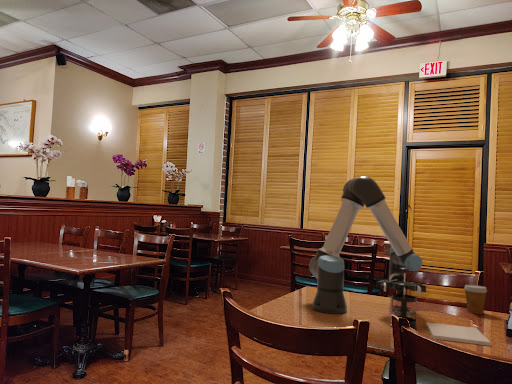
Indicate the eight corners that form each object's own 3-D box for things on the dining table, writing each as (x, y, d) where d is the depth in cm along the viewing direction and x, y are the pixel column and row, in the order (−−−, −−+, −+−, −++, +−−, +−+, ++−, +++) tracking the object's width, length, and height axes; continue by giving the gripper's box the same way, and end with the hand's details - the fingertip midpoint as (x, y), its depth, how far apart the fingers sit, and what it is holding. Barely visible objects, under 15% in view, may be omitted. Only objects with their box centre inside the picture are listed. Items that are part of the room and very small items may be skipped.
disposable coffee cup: (491, 314, 178) (492, 288, 178) (475, 315, 175) (475, 288, 176) (474, 309, 187) (475, 284, 188) (458, 309, 184) (459, 284, 185)
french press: (416, 333, 143) (417, 270, 144) (389, 329, 146) (391, 268, 148) (416, 325, 153) (417, 267, 155) (391, 321, 157) (393, 264, 158)
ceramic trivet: (433, 338, 137) (433, 335, 137) (426, 325, 154) (426, 322, 154) (490, 345, 132) (490, 342, 132) (476, 331, 149) (476, 328, 149)
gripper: (427, 292, 176) (434, 302, 156) (370, 287, 184) (370, 295, 163) (427, 276, 177) (435, 283, 157) (371, 271, 184) (371, 278, 164)
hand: (402, 289), depth 160 cm, fingers open, 13 cm apart
